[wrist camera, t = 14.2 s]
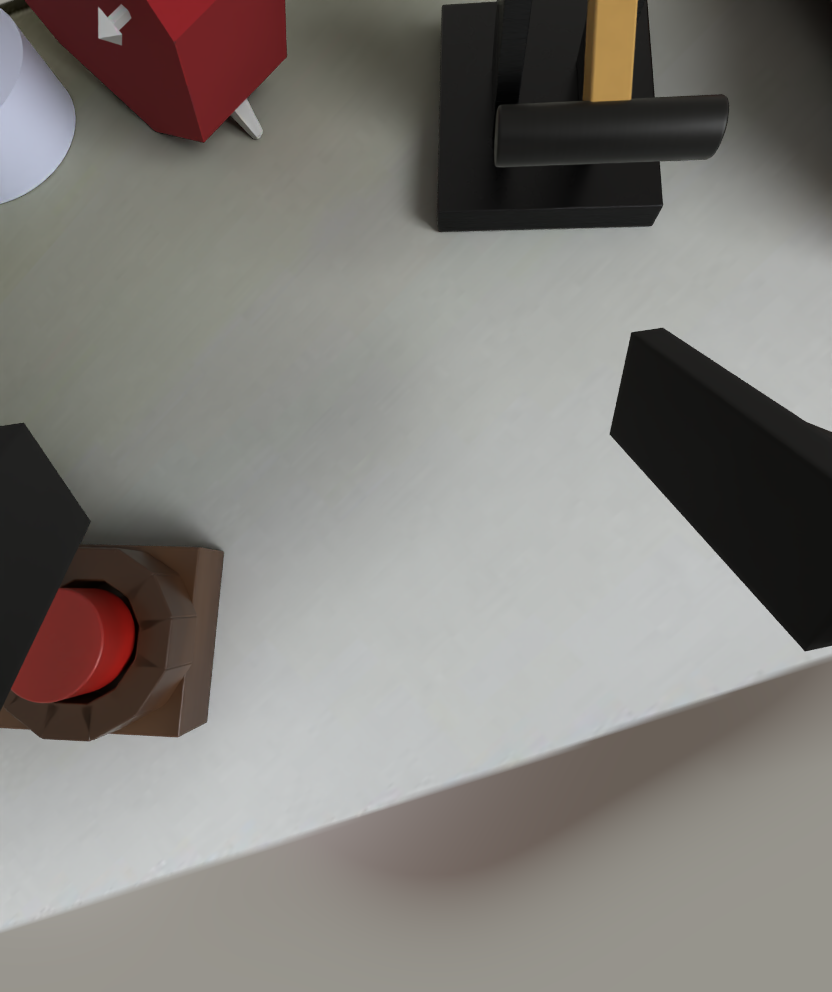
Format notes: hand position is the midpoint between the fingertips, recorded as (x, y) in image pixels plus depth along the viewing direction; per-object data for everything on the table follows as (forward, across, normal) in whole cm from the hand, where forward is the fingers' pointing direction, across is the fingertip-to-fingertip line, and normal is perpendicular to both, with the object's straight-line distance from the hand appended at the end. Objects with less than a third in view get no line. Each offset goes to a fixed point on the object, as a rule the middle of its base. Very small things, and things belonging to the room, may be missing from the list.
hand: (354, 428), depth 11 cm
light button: (+2, -11, -8) cm, 14 cm away
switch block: (+5, -12, -11) cm, 17 cm away
